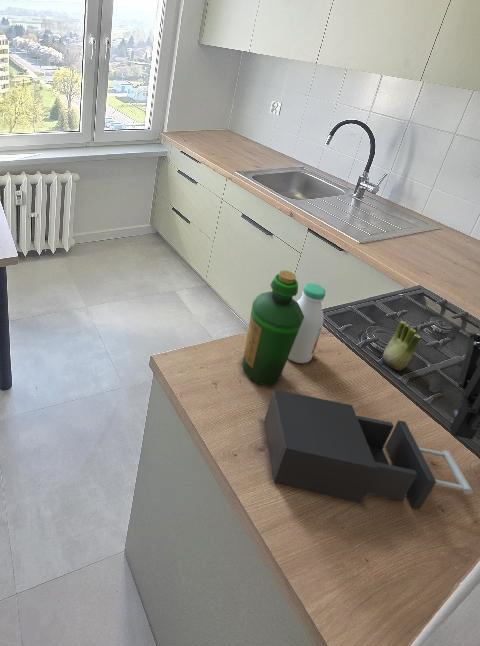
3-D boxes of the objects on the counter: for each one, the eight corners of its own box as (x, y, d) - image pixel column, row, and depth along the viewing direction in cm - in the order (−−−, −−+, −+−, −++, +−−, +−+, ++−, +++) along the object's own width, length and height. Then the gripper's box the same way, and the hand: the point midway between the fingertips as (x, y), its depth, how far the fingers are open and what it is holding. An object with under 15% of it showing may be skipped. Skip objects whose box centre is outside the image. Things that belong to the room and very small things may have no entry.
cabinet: (338, 437, 85) (352, 404, 81) (360, 503, 74) (377, 468, 70) (263, 421, 88) (273, 389, 84) (273, 482, 76) (285, 448, 72)
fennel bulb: (406, 376, 100) (425, 338, 96) (383, 369, 102) (400, 331, 97) (401, 359, 105) (418, 322, 100) (378, 353, 107) (394, 316, 102)
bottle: (254, 348, 107) (278, 255, 95) (293, 376, 99) (325, 279, 87) (228, 367, 101) (251, 270, 89) (267, 398, 93) (297, 297, 82)
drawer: (435, 457, 81) (450, 430, 78) (469, 522, 71) (489, 493, 68) (318, 432, 85) (329, 406, 82) (335, 490, 75) (348, 462, 71)
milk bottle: (303, 369, 101) (325, 303, 93) (273, 351, 106) (291, 286, 98) (316, 353, 106) (338, 289, 98) (287, 337, 111) (305, 274, 103)
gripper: (469, 294, 68) (417, 397, 78) (525, 353, 56) (457, 465, 66) (522, 302, 67) (463, 405, 76) (591, 364, 55) (512, 477, 65)
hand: (460, 433), depth 71 cm, fingers closed
